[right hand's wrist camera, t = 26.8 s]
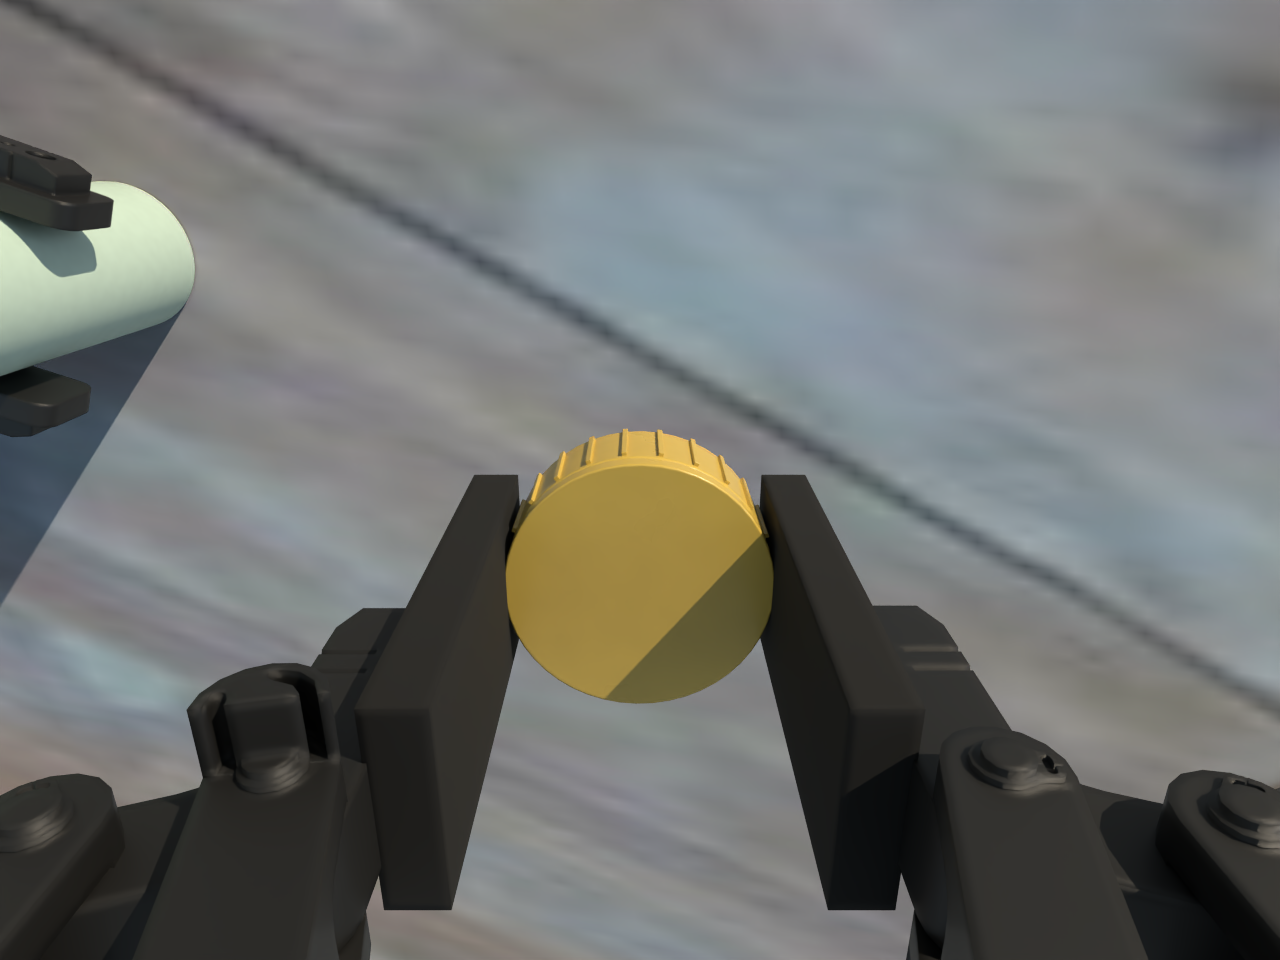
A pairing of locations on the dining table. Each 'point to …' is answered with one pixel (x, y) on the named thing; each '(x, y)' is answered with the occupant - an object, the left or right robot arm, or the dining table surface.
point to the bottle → (89, 278)
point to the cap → (639, 568)
